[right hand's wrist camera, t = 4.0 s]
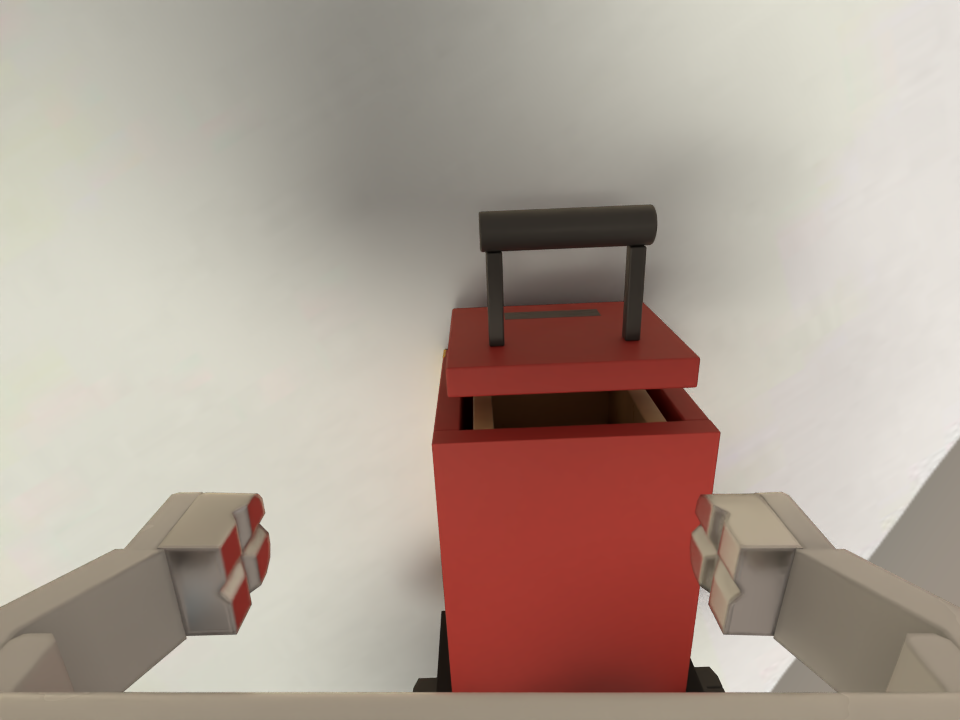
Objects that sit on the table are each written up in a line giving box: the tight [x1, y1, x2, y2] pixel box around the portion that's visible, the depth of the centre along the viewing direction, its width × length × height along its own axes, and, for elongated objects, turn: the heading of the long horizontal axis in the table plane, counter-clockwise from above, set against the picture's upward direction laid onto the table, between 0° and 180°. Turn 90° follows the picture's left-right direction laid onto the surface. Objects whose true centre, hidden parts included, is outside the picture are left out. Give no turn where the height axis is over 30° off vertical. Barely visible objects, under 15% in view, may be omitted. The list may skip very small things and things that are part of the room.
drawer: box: [446, 205, 700, 430], centre depth 26 cm, size 21×9×8 cm, turn 2°
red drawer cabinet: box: [432, 350, 720, 693], centre depth 28 cm, size 18×10×10 cm, turn 2°
